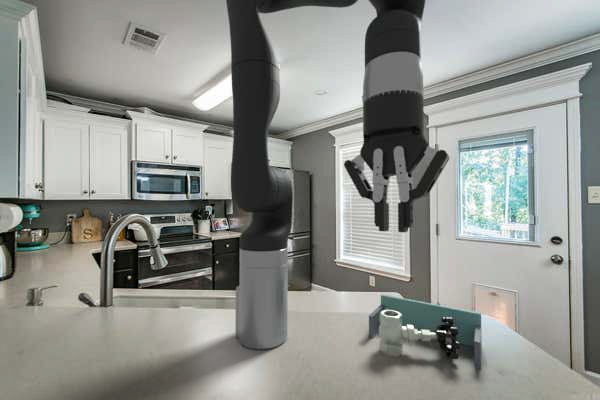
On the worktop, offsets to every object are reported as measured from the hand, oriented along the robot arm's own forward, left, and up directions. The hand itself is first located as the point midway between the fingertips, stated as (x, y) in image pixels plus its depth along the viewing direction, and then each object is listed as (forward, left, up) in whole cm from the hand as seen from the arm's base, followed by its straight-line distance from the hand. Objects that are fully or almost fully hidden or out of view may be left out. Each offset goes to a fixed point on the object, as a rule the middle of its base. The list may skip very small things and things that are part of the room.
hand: (393, 230), depth 35 cm
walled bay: (0, +19, -22) cm, 29 cm away
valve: (0, +14, -22) cm, 26 cm away
